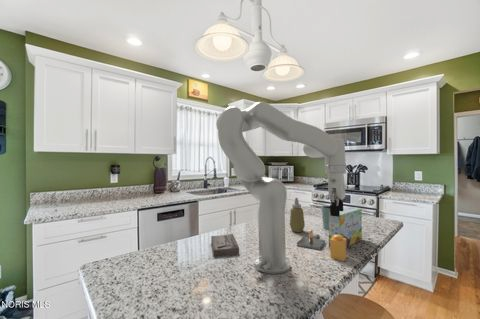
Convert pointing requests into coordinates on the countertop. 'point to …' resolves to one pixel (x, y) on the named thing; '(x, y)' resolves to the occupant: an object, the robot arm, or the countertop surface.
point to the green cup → (325, 216)
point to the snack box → (347, 225)
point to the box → (224, 245)
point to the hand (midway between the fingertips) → (337, 213)
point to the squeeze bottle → (297, 217)
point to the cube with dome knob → (338, 247)
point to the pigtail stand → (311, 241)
